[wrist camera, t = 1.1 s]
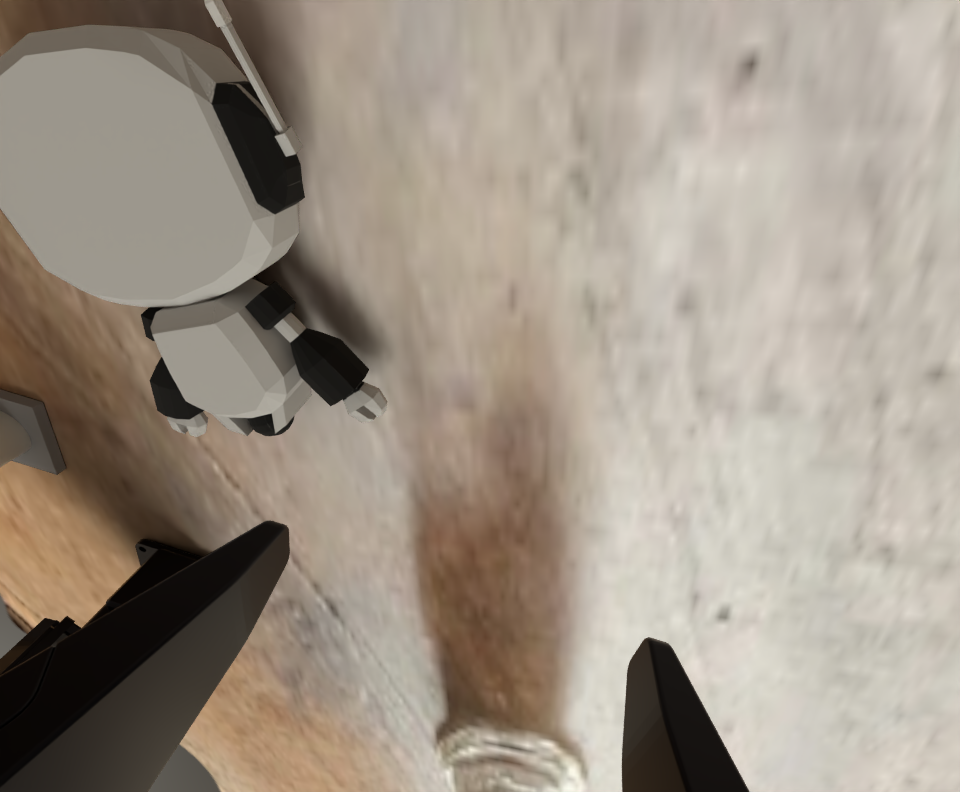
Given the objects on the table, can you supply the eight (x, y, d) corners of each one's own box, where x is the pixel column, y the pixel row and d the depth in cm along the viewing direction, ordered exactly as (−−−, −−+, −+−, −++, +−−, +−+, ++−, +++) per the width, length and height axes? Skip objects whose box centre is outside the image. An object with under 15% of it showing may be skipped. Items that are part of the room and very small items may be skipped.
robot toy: (422, 385, 23) (279, -23, 15) (390, 447, 19) (178, -48, 11) (213, 406, 26) (7, 85, 18) (151, 463, 23) (-137, 93, 15)
